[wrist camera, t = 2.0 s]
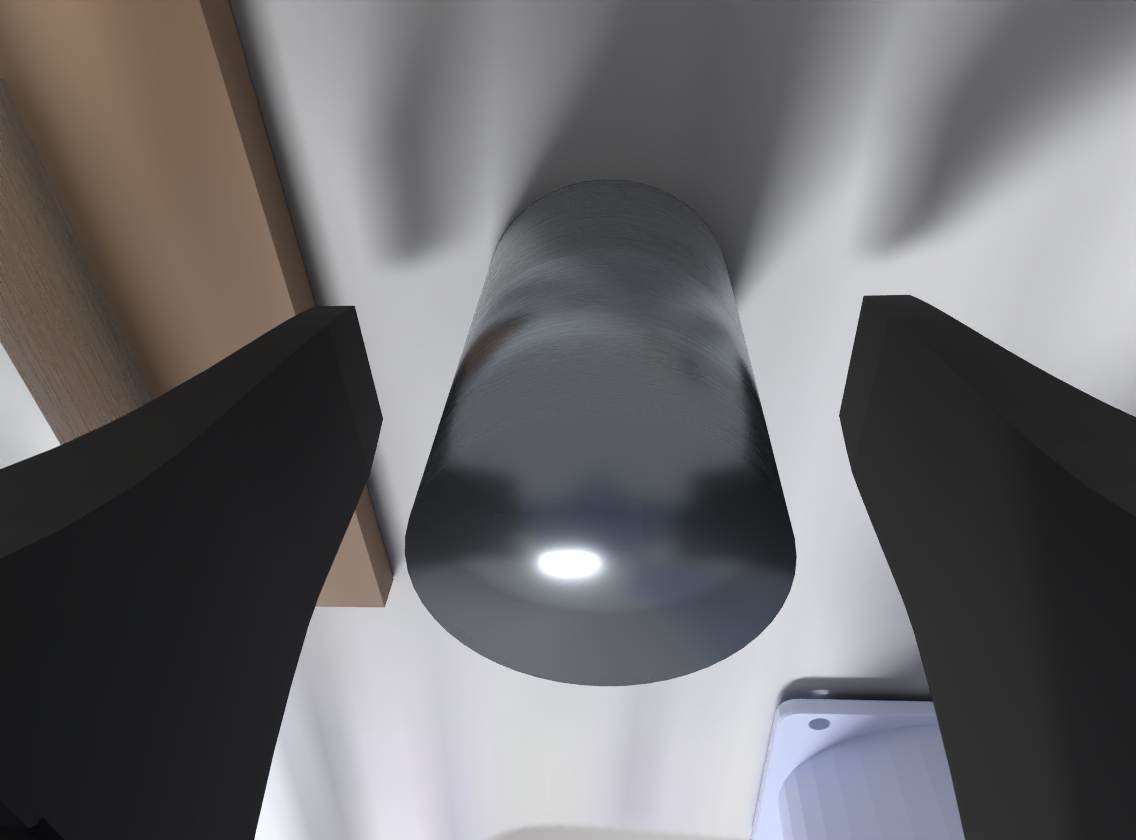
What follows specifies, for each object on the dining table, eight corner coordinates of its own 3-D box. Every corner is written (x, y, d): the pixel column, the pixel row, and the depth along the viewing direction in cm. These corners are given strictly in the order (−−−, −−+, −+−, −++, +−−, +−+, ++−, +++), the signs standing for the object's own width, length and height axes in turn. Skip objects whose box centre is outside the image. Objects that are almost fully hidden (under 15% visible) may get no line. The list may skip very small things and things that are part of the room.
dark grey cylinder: (738, 175, 11) (825, 416, 6) (720, 395, 14) (773, 689, 9) (473, 184, 12) (367, 418, 7) (500, 397, 14) (437, 682, 9)
